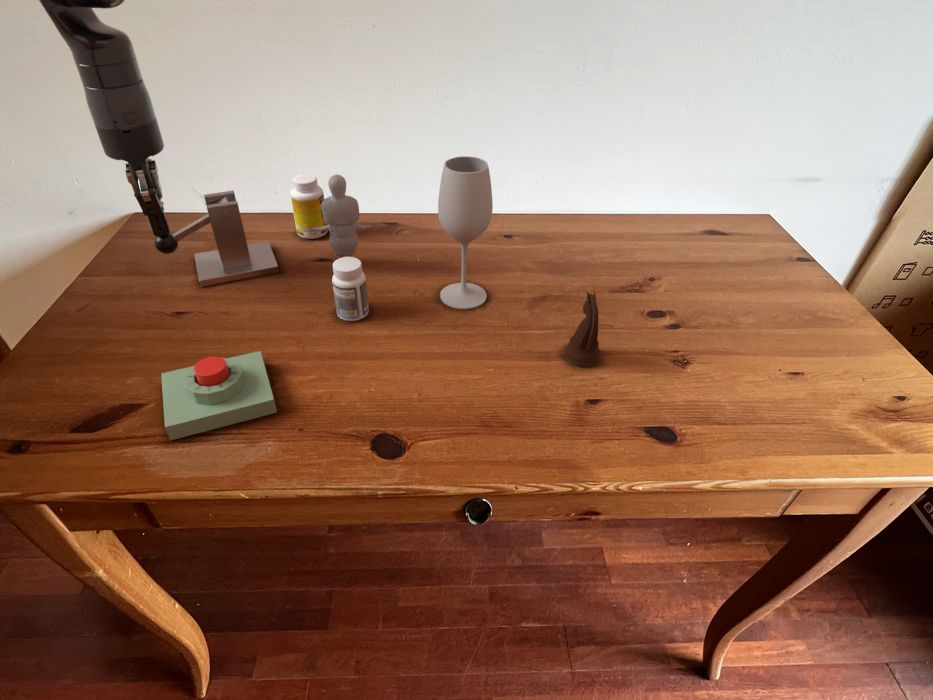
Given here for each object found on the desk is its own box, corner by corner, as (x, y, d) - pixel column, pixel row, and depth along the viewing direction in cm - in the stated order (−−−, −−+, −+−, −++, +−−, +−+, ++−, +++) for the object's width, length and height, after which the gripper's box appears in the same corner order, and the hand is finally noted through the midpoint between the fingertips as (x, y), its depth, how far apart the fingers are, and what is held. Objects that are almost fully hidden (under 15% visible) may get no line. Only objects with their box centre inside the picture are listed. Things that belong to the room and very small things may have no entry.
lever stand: (200, 287, 94) (180, 217, 87) (196, 260, 101) (176, 193, 93) (279, 272, 98) (265, 204, 91) (269, 247, 105) (256, 181, 97)
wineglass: (434, 307, 91) (432, 173, 78) (444, 280, 97) (443, 152, 84) (484, 312, 90) (490, 178, 77) (490, 285, 96) (497, 156, 83)
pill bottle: (356, 300, 92) (351, 251, 87) (375, 313, 90) (371, 263, 84) (330, 312, 90) (323, 262, 84) (349, 326, 87) (343, 276, 82)
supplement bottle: (329, 238, 107) (321, 183, 101) (297, 241, 106) (287, 186, 100) (327, 224, 112) (320, 171, 105) (296, 227, 111) (287, 173, 104)
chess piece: (593, 345, 85) (605, 285, 78) (603, 369, 81) (616, 307, 74) (561, 347, 84) (570, 286, 78) (569, 370, 80) (580, 308, 74)
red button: (198, 390, 70) (194, 378, 69) (196, 371, 73) (192, 360, 72) (231, 382, 72) (227, 371, 71) (227, 364, 74) (224, 353, 73)
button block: (170, 440, 69) (160, 415, 67) (166, 386, 76) (156, 362, 74) (277, 412, 73) (271, 388, 71) (263, 363, 80) (257, 339, 78)
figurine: (374, 253, 103) (367, 169, 94) (375, 265, 100) (368, 179, 91) (318, 256, 102) (305, 171, 93) (317, 268, 99) (303, 181, 90)
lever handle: (164, 261, 92) (150, 245, 90) (164, 251, 95) (149, 236, 93) (238, 217, 93) (225, 201, 91) (236, 209, 95) (223, 192, 93)
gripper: (95, 105, 84) (134, 219, 95) (91, 136, 75) (135, 259, 86) (153, 100, 87) (185, 211, 98) (156, 129, 77) (192, 249, 88)
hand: (162, 233), depth 92 cm, fingers closed
